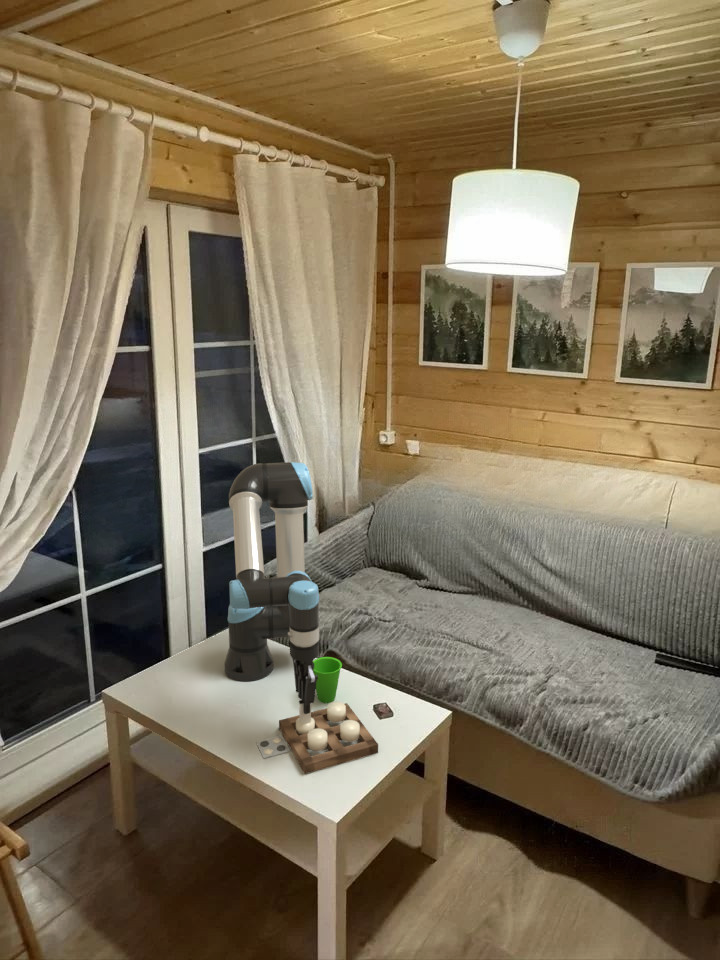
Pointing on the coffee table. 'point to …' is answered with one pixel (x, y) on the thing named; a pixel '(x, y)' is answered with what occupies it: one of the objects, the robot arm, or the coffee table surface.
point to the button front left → (349, 730)
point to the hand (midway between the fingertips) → (305, 721)
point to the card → (272, 747)
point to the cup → (327, 678)
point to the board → (334, 746)
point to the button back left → (336, 712)
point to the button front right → (317, 739)
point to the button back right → (304, 727)
